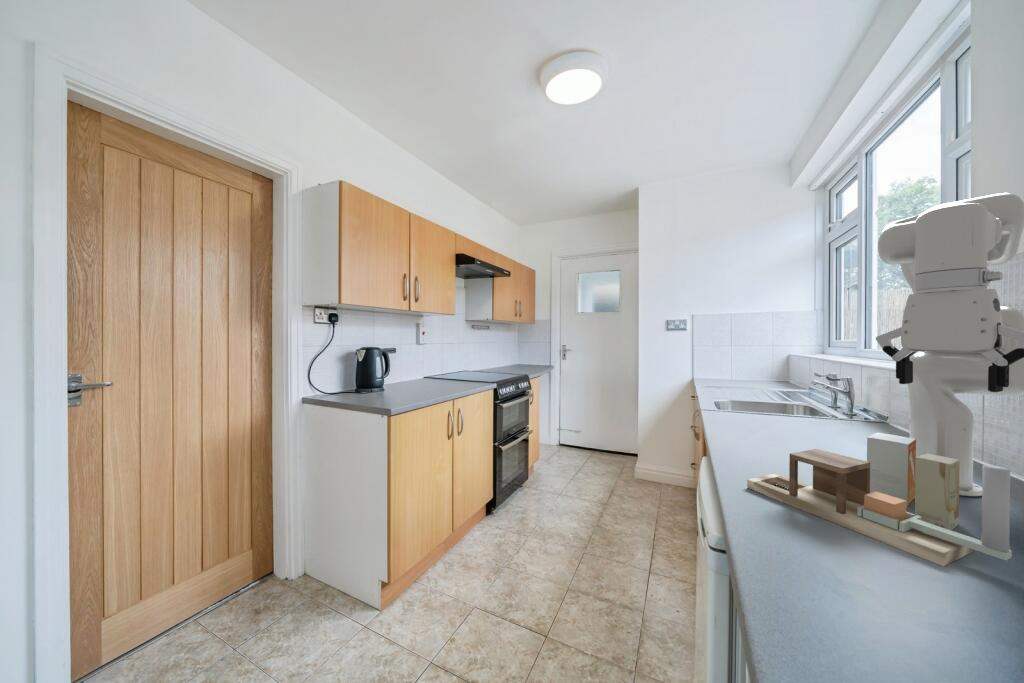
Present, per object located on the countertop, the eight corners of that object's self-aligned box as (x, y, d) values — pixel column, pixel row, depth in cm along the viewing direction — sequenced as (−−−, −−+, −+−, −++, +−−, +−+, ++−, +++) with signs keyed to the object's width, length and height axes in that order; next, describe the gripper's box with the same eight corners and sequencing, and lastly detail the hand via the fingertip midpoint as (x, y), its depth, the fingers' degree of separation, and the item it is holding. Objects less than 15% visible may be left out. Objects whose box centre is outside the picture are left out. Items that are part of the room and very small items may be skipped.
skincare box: (949, 533, 62) (950, 464, 62) (913, 521, 66) (914, 457, 66) (960, 524, 65) (961, 458, 65) (925, 514, 69) (925, 452, 69)
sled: (875, 509, 66) (876, 439, 66) (1017, 557, 52) (1018, 467, 52) (857, 515, 64) (858, 442, 64) (1000, 567, 50) (1001, 473, 50)
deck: (775, 481, 85) (775, 473, 85) (972, 551, 57) (973, 539, 57) (747, 488, 81) (747, 479, 81) (943, 566, 53) (943, 553, 53)
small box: (908, 507, 72) (909, 444, 72) (865, 496, 77) (866, 436, 77) (916, 497, 76) (917, 438, 76) (875, 487, 82) (875, 431, 82)
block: (876, 512, 66) (876, 491, 66) (906, 523, 62) (906, 500, 62) (864, 516, 64) (864, 494, 64) (894, 527, 60) (894, 504, 60)
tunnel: (815, 487, 77) (815, 448, 77) (869, 505, 68) (870, 462, 68) (789, 494, 73) (789, 453, 73) (842, 514, 65) (843, 468, 65)
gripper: (1050, 276, 51) (1048, 393, 52) (887, 290, 67) (886, 379, 68) (1033, 273, 48) (1031, 397, 49) (867, 289, 64) (866, 382, 65)
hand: (947, 387), depth 58 cm, fingers open, 9 cm apart
